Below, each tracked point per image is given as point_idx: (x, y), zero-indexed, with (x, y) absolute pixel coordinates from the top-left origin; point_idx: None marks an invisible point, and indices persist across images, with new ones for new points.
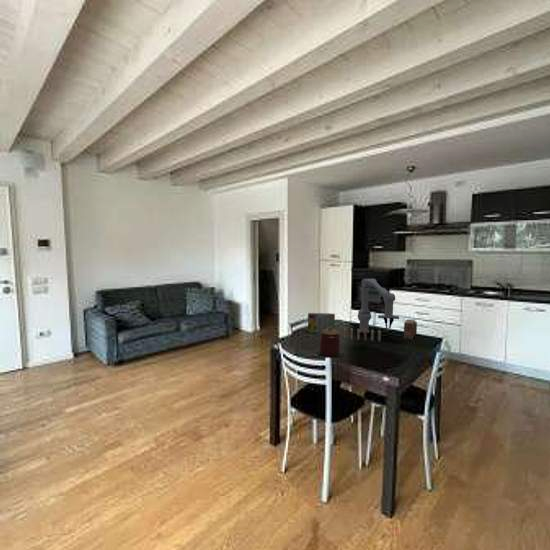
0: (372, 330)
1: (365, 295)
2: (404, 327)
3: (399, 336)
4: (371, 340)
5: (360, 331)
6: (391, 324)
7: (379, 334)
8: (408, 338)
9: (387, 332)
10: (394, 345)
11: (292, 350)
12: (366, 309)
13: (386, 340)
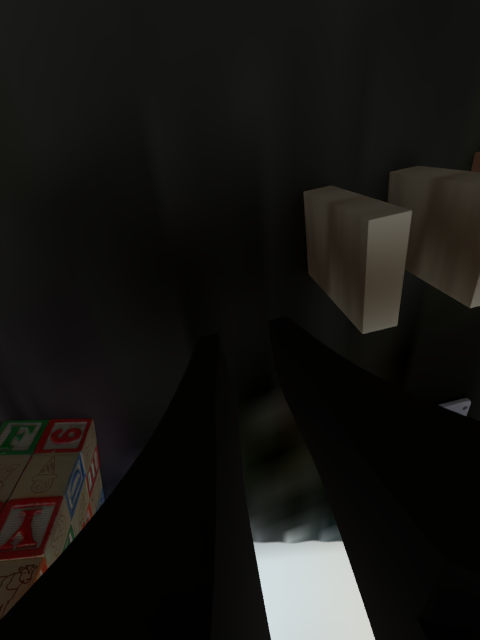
0: None
1: None
2: (41, 543)
3: (141, 442)
4: (415, 166)
5: (459, 408)
6: (162, 418)
7: (365, 205)
8: (41, 423)
9: (249, 482)
10: (76, 16)
11: None
12: None
13: (235, 263)
